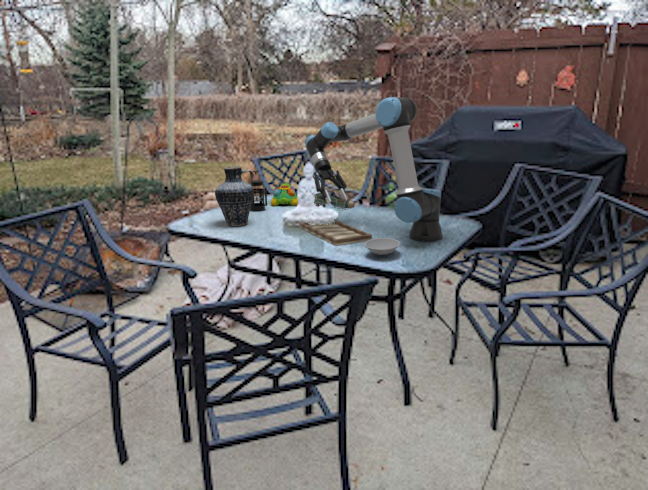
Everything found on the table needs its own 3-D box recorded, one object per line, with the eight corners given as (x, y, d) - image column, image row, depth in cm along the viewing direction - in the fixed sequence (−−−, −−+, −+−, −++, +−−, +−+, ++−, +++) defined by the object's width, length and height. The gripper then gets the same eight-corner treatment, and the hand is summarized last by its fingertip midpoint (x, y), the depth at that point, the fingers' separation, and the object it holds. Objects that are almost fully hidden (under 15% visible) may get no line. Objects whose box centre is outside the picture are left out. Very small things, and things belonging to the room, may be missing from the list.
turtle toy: (299, 199, 321) (299, 181, 318) (298, 207, 299) (297, 188, 296) (273, 200, 321) (272, 182, 318) (270, 207, 299) (269, 188, 296)
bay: (371, 240, 230) (371, 234, 229) (336, 245, 221) (336, 240, 220) (332, 223, 261) (332, 218, 260) (299, 227, 252) (299, 222, 252)
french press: (245, 210, 291) (243, 171, 284) (253, 207, 299) (251, 169, 292) (262, 212, 286) (261, 172, 279) (270, 209, 294) (269, 170, 288)
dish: (390, 263, 198) (390, 251, 196) (357, 258, 204) (357, 246, 203) (405, 251, 213) (406, 240, 211) (374, 247, 219) (374, 236, 218)
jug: (228, 231, 246) (225, 170, 238) (210, 224, 261) (206, 166, 252) (264, 224, 259) (261, 166, 250) (244, 218, 273) (241, 163, 265)
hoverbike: (321, 203, 249) (321, 187, 246) (360, 210, 232) (361, 193, 230) (308, 206, 242) (308, 189, 240) (347, 214, 226) (348, 196, 223)
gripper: (337, 166, 250) (353, 204, 241) (299, 169, 241) (315, 208, 232) (342, 157, 244) (359, 195, 235) (304, 160, 235) (320, 199, 226)
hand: (337, 201), depth 233 cm, fingers closed on hoverbike, 8 cm apart
